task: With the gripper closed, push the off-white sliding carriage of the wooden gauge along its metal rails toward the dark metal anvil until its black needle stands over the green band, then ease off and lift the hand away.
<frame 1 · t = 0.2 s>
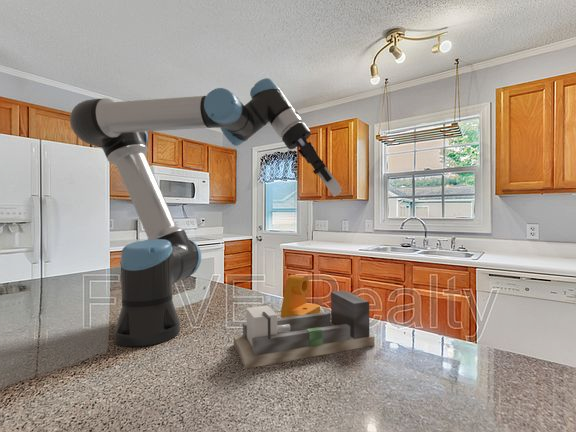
hand: (337, 193, 85), 35 cm above the countertop, tool tilted 35°, fingers open, 13 cm apart
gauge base: (303, 345, 73), on the countertop
bracket: (301, 317, 92), on the countertop
gauge carriage: (271, 326, 69), point 6 cm above the countertop, slide at 0.0 cm
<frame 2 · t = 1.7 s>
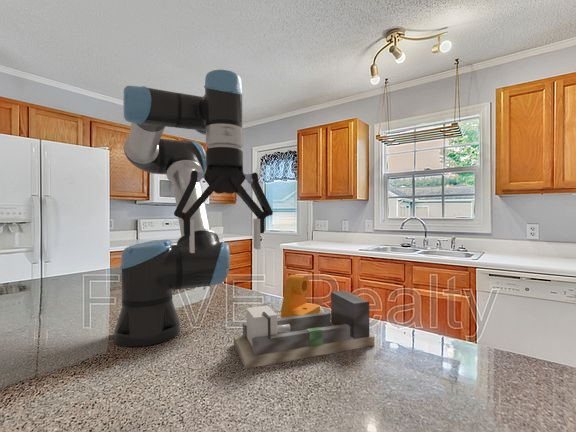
hand: (225, 250, 67), 23 cm above the countertop, tool pointing down, fingers open, 13 cm apart
nothing on the countertop moved.
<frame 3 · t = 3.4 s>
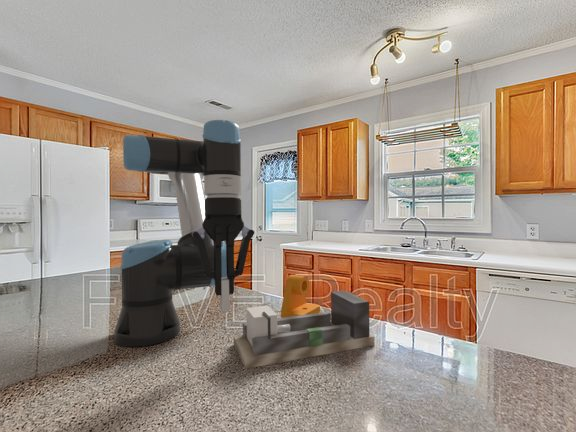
hand: (224, 309, 66), 10 cm above the countertop, tool pointing down, fingers closed
nothing on the countertop moved.
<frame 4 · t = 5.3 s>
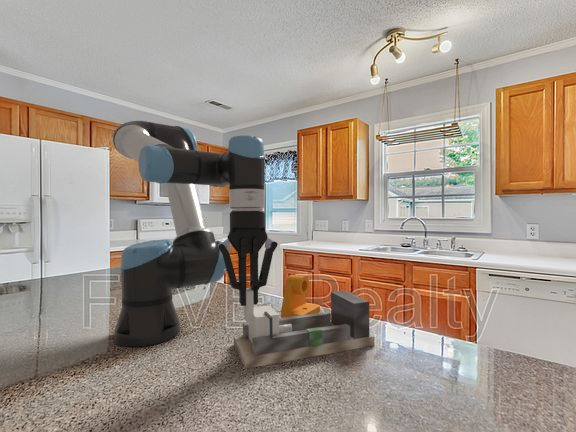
hand: (248, 319, 68), 8 cm above the countertop, tool pointing down, fingers closed
gauge carriage: (273, 326, 69), point 6 cm above the countertop, slide at 0.4 cm, touching gripper
everything else where it was.
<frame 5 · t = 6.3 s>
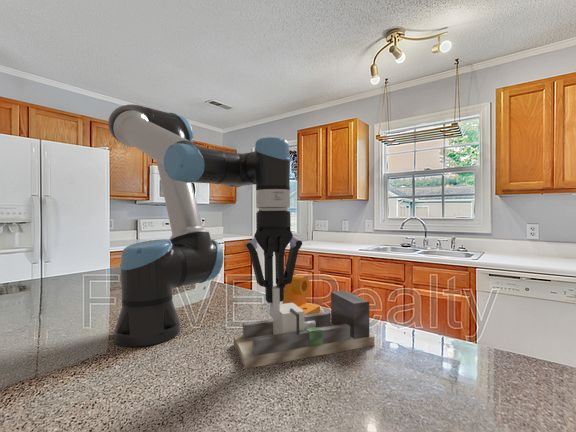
hand: (274, 316, 70), 8 cm above the countertop, tool pointing down, fingers closed
gauge carriage: (298, 322, 71), point 6 cm above the countertop, slide at 6.2 cm, touching gripper
everything else where it was.
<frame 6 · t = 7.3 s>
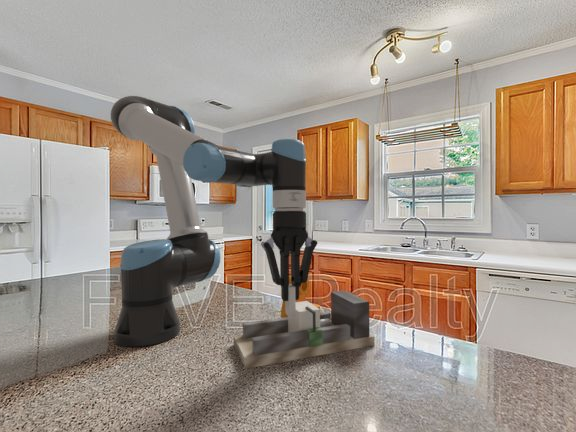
hand: (290, 314, 72), 7 cm above the countertop, tool pointing down, fingers closed
gauge carriage: (313, 320, 72), point 6 cm above the countertop, slide at 10.0 cm, touching gripper
everything else where it was.
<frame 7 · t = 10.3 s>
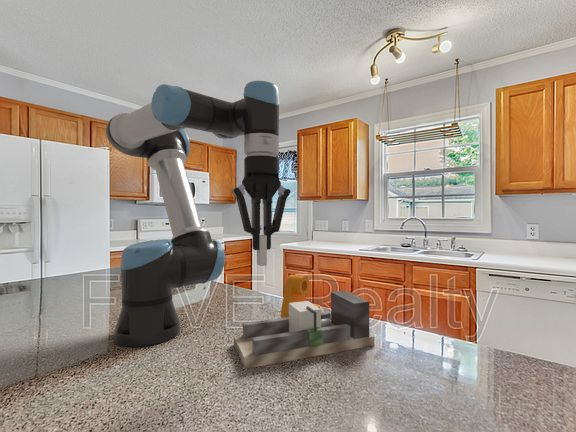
hand: (261, 264, 70), 19 cm above the countertop, tool pointing down, fingers closed
gauge carriage: (314, 320, 73), point 6 cm above the countertop, slide at 10.2 cm
everything else where it was.
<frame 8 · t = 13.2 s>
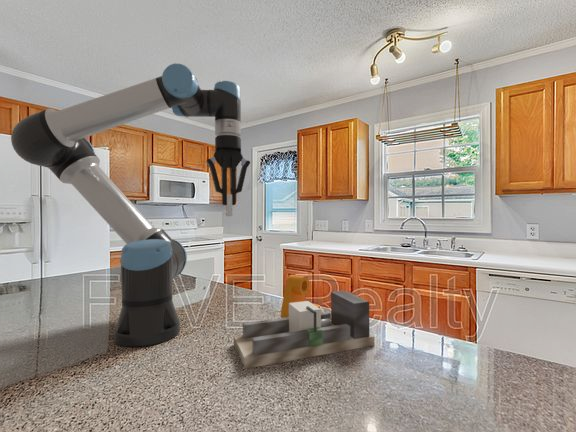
hand: (229, 216, 95), 29 cm above the countertop, tool pointing down, fingers closed
nothing on the countertop moved.
at the end: gauge carriage slide at 10.2 cm; the gripper is holding nothing; bracket moved 0.3 cm from its start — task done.
